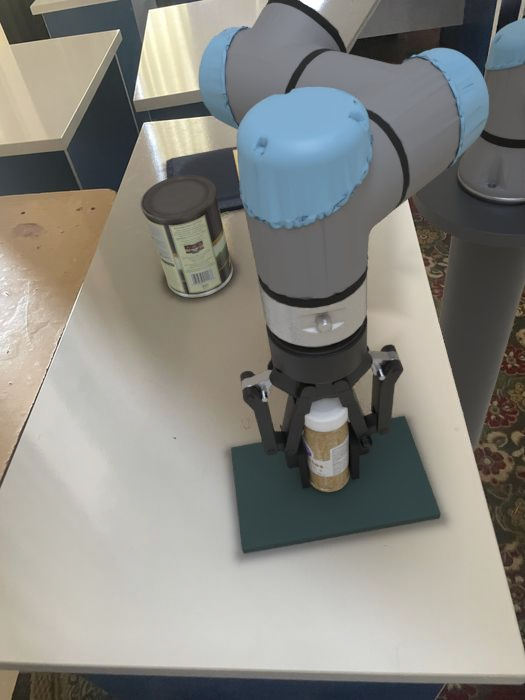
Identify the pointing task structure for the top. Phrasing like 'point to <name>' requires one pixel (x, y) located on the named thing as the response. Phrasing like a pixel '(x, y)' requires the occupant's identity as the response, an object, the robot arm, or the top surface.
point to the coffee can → (188, 234)
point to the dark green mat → (331, 494)
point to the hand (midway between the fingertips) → (328, 471)
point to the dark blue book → (212, 173)
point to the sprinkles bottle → (327, 445)
